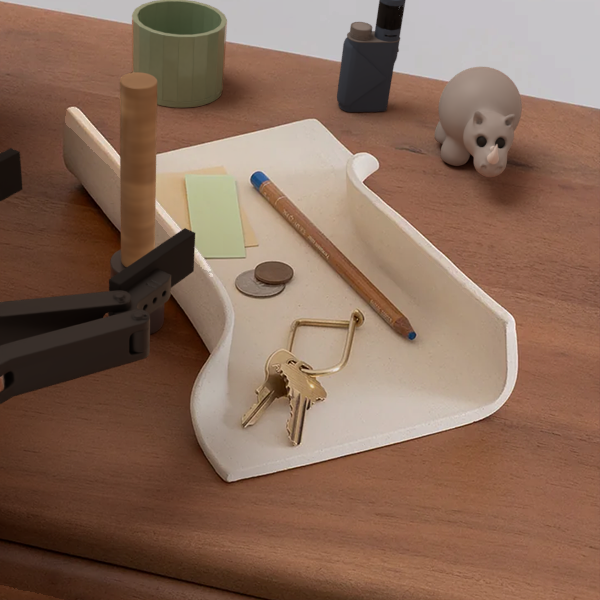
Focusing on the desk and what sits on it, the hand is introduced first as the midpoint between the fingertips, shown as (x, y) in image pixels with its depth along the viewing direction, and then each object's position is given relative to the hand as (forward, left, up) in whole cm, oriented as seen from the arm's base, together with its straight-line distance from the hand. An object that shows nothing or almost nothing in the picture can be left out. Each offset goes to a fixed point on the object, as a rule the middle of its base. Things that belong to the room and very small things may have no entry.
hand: (100, 207), depth 64 cm
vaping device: (-11, +42, -11) cm, 44 cm away
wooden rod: (-1, +4, -11) cm, 11 cm away
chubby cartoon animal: (+3, +40, -11) cm, 41 cm away
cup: (-25, +31, -11) cm, 41 cm away
